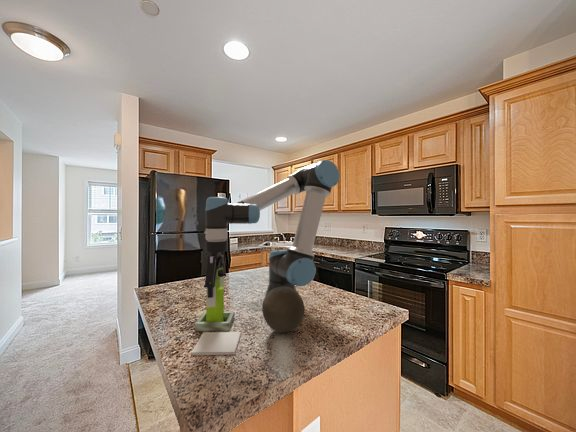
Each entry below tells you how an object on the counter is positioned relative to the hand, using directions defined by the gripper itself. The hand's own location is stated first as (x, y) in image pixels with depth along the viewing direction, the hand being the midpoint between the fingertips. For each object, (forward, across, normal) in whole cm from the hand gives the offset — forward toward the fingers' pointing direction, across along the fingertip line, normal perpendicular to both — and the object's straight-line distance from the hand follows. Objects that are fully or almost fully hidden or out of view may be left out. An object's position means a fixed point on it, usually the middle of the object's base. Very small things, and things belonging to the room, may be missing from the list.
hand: (216, 299), depth 90 cm
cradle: (+9, 0, 0) cm, 9 cm away
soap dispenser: (+9, 0, 0) cm, 9 cm away
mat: (+9, +14, +4) cm, 17 cm away
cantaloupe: (+9, +7, +24) cm, 27 cm away
